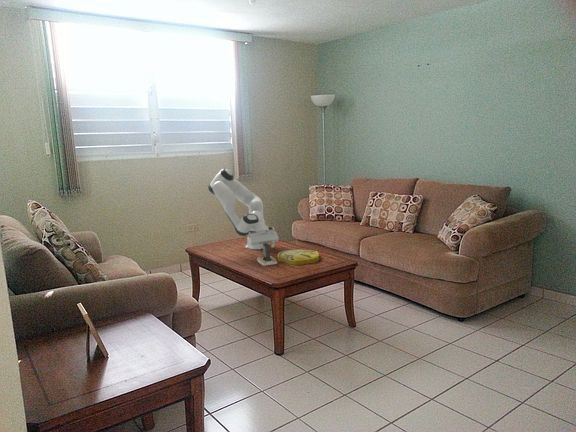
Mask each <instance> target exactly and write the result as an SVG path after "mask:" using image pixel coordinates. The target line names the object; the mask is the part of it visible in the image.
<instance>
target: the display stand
mask: <svg viewBox="0 0 576 432" xmlns="http://www.w3.org/2000/svg"><path fill="white" fill-rule="evenodd" d="M263 258H264V257H261V256H258V257H257V258H256V261H257V262H258V263H259V264H260V265H262V266H271V265H277V264H278V260H277V259H275V257H273V256H272V255H270V258H271V261H267V262H266V261H264V260H263Z"/></svg>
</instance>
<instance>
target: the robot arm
mask: <svg viewBox="0 0 576 432" xmlns="http://www.w3.org/2000/svg"><path fill="white" fill-rule="evenodd" d="M207 189H208V191H209V192H210V194H212V195H215V196H216V198H217V199H218V201H219V202H220V203H221V206H222V207H223V210H224V213H225V215H226V216H227V218H228V219H229V221H230V222H231V224H232V225H233V227H234V231H235V232H236V234H238V235H239V236H242V237H246V236H247V238H246V239H247V244H246V245H245V247H244V248H246V249H250V250H261V249H262V250H263V244H265V243H268V244H271V249H272V248H274V249H275V243H277V242H278V241H279V235H278V233H277V231H275V228H274V227H273V226H268V225H267V224H266V221H265V218H264V204H263V203H264V202H263V200H262V199H261V198H260V197H259V196H258V195H257V194H255V193H254V192H252V191H251V190H249V188H247V187H246V186H244V185H243V184H242V182H240V181H239V180H238V179H235V178H234V174H233V172H232V171H231V169H229V168H226V167H224V168H222V169H220V171H219V172H218V173H216V175H215V176H214V178H213V179H212V180H211V182H210V183H209V184H208V187H207ZM236 200H238V201H239V202H240V203H242V204H243V205H245V207H248V213H245V214H243V215H242V217H241V218H239V216H238V214H237V213H236V210H235V209H236V208H235V206H236Z"/></svg>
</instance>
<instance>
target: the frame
mask: <svg viewBox="0 0 576 432" xmlns="http://www.w3.org/2000/svg"><path fill="white" fill-rule="evenodd" d="M262 253H263V257H262V258H263V260H264V261H266V262H267V261H271V258H270V256H271V245H270V243H265V244H263V249H262Z"/></svg>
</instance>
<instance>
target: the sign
mask: <svg viewBox="0 0 576 432" xmlns="http://www.w3.org/2000/svg"><path fill="white" fill-rule="evenodd" d="M318 261H320V254H319V252H318V251H317V250H311V249H310V250H306V249H288V250H283V251H280V252H278V254H277V262H283V263H285V264H288V265H293V266H301V265H309V263H310V264H314V263H316V262H318Z"/></svg>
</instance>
